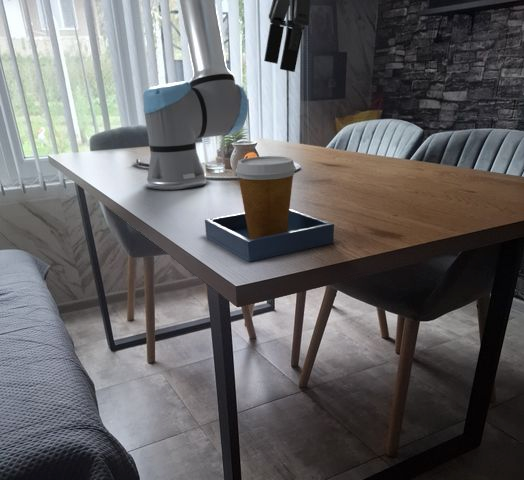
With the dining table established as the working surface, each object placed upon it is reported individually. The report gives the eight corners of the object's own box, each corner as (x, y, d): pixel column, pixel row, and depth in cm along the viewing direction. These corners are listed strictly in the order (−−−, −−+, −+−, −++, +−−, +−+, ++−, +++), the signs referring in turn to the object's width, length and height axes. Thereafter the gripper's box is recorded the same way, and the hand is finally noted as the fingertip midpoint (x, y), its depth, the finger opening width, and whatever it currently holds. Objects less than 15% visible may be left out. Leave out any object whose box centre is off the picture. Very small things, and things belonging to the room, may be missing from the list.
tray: (206, 237, 84) (204, 219, 82) (282, 222, 90) (282, 205, 89) (249, 262, 72) (247, 241, 70) (333, 243, 78) (334, 223, 77)
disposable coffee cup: (253, 227, 86) (249, 155, 80) (303, 230, 83) (304, 156, 77) (229, 242, 78) (223, 164, 72) (284, 247, 75) (283, 166, 69)
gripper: (349, -77, 74) (315, 78, 86) (304, -62, 94) (281, 62, 105) (303, -91, 72) (274, 70, 84) (267, -73, 92) (248, 55, 103)
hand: (278, 66), depth 95 cm, fingers open, 13 cm apart
